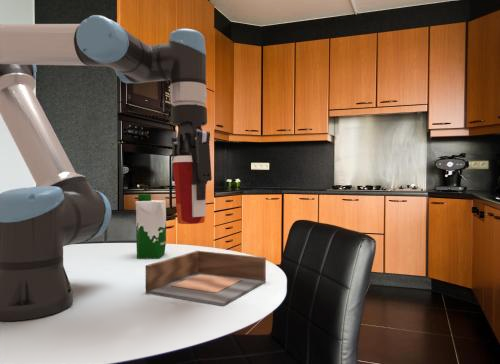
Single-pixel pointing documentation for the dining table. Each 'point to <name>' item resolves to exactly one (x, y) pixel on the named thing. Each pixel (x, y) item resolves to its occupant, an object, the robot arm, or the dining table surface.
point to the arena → (206, 276)
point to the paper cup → (184, 190)
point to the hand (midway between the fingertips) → (191, 215)
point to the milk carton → (150, 227)
